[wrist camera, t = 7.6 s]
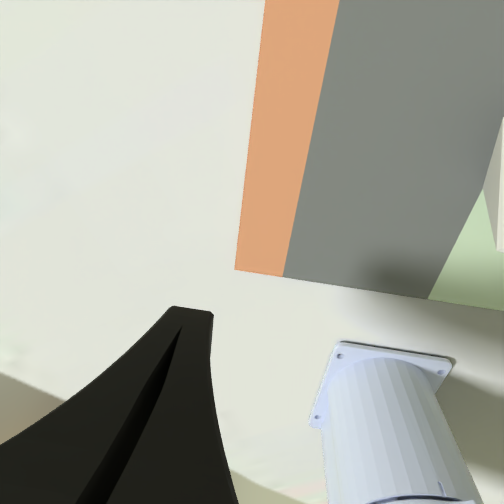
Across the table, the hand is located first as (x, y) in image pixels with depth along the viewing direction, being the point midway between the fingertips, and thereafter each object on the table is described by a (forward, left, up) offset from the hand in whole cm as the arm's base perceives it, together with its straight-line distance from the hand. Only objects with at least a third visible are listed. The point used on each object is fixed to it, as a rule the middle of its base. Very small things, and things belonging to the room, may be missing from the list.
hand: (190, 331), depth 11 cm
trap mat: (+4, -13, -9) cm, 17 cm away
